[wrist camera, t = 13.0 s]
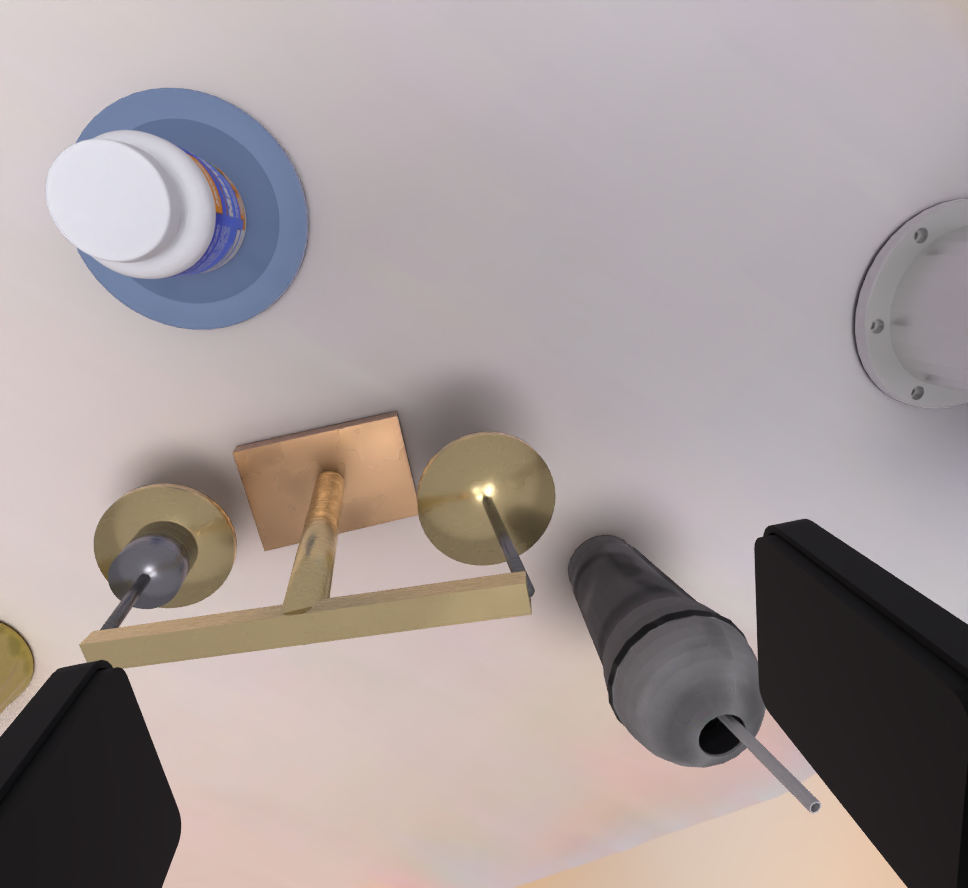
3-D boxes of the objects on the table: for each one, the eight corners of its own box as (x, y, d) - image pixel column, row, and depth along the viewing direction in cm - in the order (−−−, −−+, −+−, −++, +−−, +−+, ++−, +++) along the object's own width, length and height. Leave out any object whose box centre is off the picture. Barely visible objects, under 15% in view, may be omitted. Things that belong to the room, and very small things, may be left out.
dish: (274, 75, 31) (270, 68, 30) (332, 303, 35) (331, 305, 33) (38, 115, 30) (23, 109, 29) (122, 346, 34) (112, 350, 32)
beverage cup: (525, 558, 41) (654, 823, 22) (621, 492, 41) (834, 702, 22) (583, 637, 43) (745, 937, 24) (674, 575, 43) (909, 829, 24)
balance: (506, 383, 37) (610, 488, 21) (524, 484, 39) (632, 654, 23) (116, 469, 35) (-115, 662, 19) (155, 572, 37) (-22, 828, 21)
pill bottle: (270, 210, 32) (227, 193, 23) (205, 297, 32) (137, 315, 23) (171, 128, 30) (81, 74, 21) (104, 221, 31) (-12, 208, 22)
